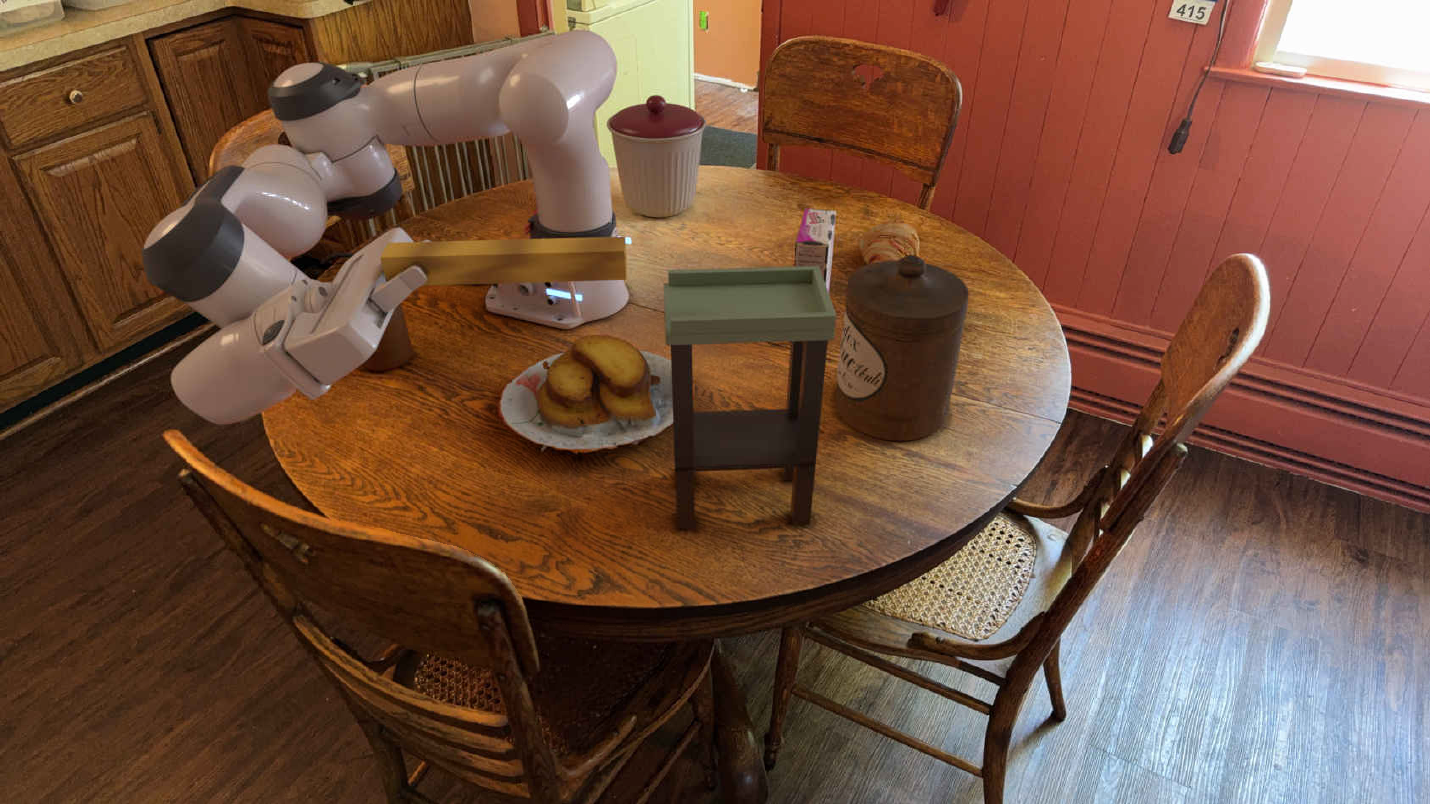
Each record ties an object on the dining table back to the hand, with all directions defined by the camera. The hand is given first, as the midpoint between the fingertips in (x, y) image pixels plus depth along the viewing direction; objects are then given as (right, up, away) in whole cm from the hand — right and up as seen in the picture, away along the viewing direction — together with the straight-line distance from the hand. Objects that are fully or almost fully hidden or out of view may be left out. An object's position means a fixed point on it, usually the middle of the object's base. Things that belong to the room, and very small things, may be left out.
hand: (428, 259), depth 79 cm
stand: (+30, -24, +21) cm, 44 cm away
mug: (-21, -8, +42) cm, 48 cm away
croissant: (+56, +11, +68) cm, 89 cm away
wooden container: (+50, -14, +35) cm, 63 cm away
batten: (+7, -1, +2) cm, 7 cm away
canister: (+16, +24, +86) cm, 91 cm away
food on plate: (+11, -14, +35) cm, 39 cm away
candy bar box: (+41, -1, +52) cm, 66 cm away
